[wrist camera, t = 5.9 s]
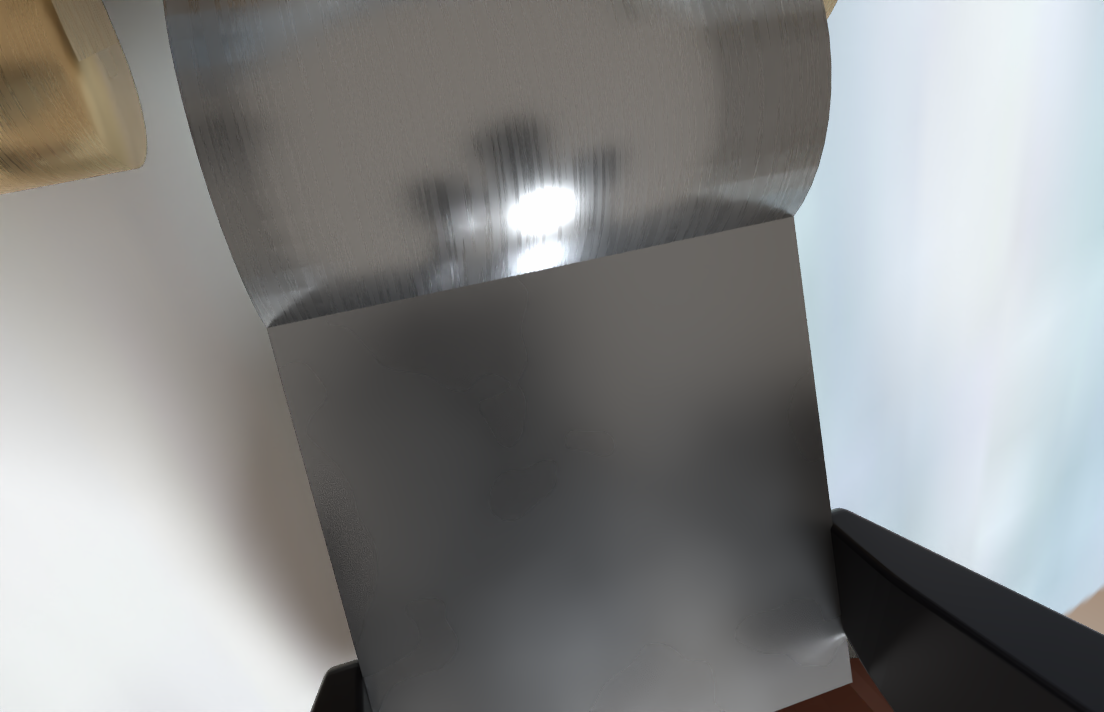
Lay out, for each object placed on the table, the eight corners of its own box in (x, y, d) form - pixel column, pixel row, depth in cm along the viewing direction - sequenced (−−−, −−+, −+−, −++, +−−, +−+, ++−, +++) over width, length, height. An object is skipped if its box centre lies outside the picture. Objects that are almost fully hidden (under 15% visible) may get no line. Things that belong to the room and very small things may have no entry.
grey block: (740, 582, 12) (906, 730, 8) (401, 693, 11) (414, 928, 7) (646, -22, 10) (804, -187, 7) (226, 31, 9) (115, -134, 5)
